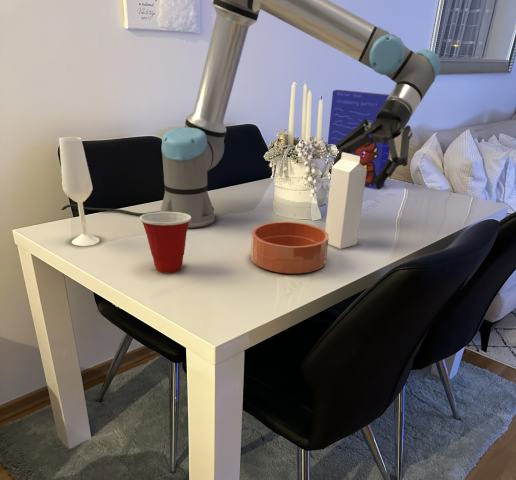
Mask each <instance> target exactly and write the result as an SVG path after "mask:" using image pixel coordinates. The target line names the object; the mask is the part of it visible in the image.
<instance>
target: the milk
mask: <svg viewBox="0 0 516 480" xmlns="http://www.w3.org/2000/svg"><path fill="white" fill-rule="evenodd" d="M366 172H367V169H366V168H365V167H364V166H362V165H361V164H360V156H356V155H352V154H348V153H344V152H342V156H341V159H340V160H339V161H338V162H337V163H336V164H335V165H334V166H333V167H332V171H331V180H329V181H330V182H329V190H328V200H327V211H326V220H325V229H324V231H326V232H327V234H328V237H329V239H328V245H330V246H332V247H334V248H337V249H339V250H341V249H346V248H349V247H352V246H356V245H357V243H358V235H359V229H360V221H361V213H362V207H363V200H364V192H365V179H366Z"/></svg>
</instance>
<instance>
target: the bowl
mask: <svg viewBox="0 0 516 480" xmlns="http://www.w3.org/2000/svg"><path fill="white" fill-rule="evenodd" d="M328 239H329V237H328V234H327V232H326V231H325V229H323V228H321V227H319V226H316V225H312V224H309V223H304V222H298V221H274V222H273V221H272V222H266V223H263V224H260V225H258V226H255V228H253V229H252V230H251V246H250V247H251V248H250V259H251V261H252V263H253V264H255V265H256V267H257V266H258V267H259V268H261V269H264V270H267V271H270V272H273V273H274V272H275V273H278V274H287V275H288V274H289V275H290V274H291V275H292V274H293V275H294V274H295V275H297V274H307V273H312V272H315V271H318V270H320V269H322V268H323V267H324V266H325V265H326V263H327V256H328V248H329V244H328Z"/></svg>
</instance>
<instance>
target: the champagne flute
mask: <svg viewBox="0 0 516 480" xmlns="http://www.w3.org/2000/svg"><path fill="white" fill-rule="evenodd" d="M58 141H59V155H60V156H59V157H60V168H61V169H60V170H61V183H62V185H61V186H62V191H63V193H64V194H66V196H67V197H68V198H69V199H71V200H72V201H73V202H76V203H77V205H78V208H77V209H78V215H79V221H80V228H81V234H80V235H79V236H77V237H76V238H74V239H73V240H72V241H71V244H72V245H74V246H80V247H85V246H93V245H97V244H98V243H100V238H99V237H96V236H94V235H92V234H90V233H88V229H87V222H86V216H85V215H86V214H85V209H83V207H84V202H86V200H87V199H88V198H89V197H90V196H91V194H92V191H93V189H94V187H93V183H92V179H91V173H90V170H89V166H88V161H87V157H86V153H85V149H84V145H83V140H82V138H81V137H78V136H63V137H59V138H58Z"/></svg>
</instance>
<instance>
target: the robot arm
mask: <svg viewBox="0 0 516 480" xmlns="http://www.w3.org/2000/svg"><path fill="white" fill-rule="evenodd" d="M212 7H213V9H214V12H215V20H214V24H213V28H212V32H211V36H210V41H209V44H208V49H207V53H206V57H205V62H204V66H203V70H202V74H201V78H200V82H199V86H198V90H197V95H196V99H195V103H194V107H193V112H192V113H190V114H188V115H186V117H185V118H186V119H185V122H184V125H183V126H184V127H177V128H172V129H169V130H167V131H166V132H164V134H163V135H162V136H161V137H162V138H161V146H160V147H161V148H160V149H161V154H162V168H163V183H164V195H163V199H162V203H161V207H160V210H156V211H148V212H134V211H129V210H126V209H118V208H105V207H104V208H102V207H101V208H99V207H86V206H83V209H84V211H90V212H91V211H95V212H116V213H117V212H118V213H123V214H129V215H132V216H139V217H140V216H142V215H143V214H148V213H153V212H179V213H185V214H188V215H190V216H191V220H190V221H189V224H188V229H197V228H203V227H207V226H210V225H211V224H213V223H214V222H215V208H214V207H213V204H212V201H211V199H210V196H209V192H208V172H209V171H210V170H212V169H213V168H215V167H216V166H217V165H219V163H220V161H222V158H223V155H224V152H225V139H226V134H227V128H226V126H225V123H224V120H225V117H226V113H227V109H228V105H229V102H230V98H231V95H232V90H233V88H234V83H235V80H236V76H237V73H238V69H239V65H240V62H241V57H242V54H243V50H244V47H245V44H246V40H247V35H248V31H249V29H250V27H251V26H252V25H254V24H256V23H257V22H258V18H259V14H260V11H263V12H265V13H267V14H268V15H270V16H273V17H275V18H276V19H278V20H280V21H282V22H284V23H286V24H288V25H290V26H291V27H293V28H295V29H297V30H299V31H301V32H303V33H305V34H306V35H309V36H310V37H312V38H314V39H315V40H318V41H319V42H321V43H323V44H325V45H327V46H329V47H331V48H333V49H334V50H337V51H338V52H340V53H342V54H344V55H346V56H348V57H350V58H352V59H354V60H356V61H357V62H359V63H360V64H362V65H365V66H366V67H368V68H370V69H371V70H373V71H374V72H375V73H377V74H379V75H381V76H385V77H387V78H389V79H390V80H391V81H393V82H394V83H395V86H394V87H393V89H392V90H391V92H390V93H389V94H388V95H389V96H388V98H387V99H386V102H385V103H384V104H383V106H382V108H381V109H380V111H379V112H378V115H377V118H376V120H375V121H374V122H373V123H370V122H368V121H367V119H364V120H363V121H362V122H361V123H360V125H359V126H358V127H356V128H355V129H354V130H353V131H351V132H350V133H349V134H348V135H347V136H345V137H344V138H343V139H342V140H340V141H339V142H338V143H337V144H336V147H337V149H338V151H339V153H338V154H337V156H336V158H335V159H334V164H333V166H334V165H335V164H336V163H337V162H338V161H339V160H340V159H341V156H342V152H344V153H348V154H350V153H352V152H353V151H355V150H357V149H359V148H360V147H362V146H364V145H366V144H367V143H369V144H370V143H372V142H374V141H375V142H377V143H378V142H381V143H383V144H386V143H388V144H389V148H390V150H389V154H390V158H391V159H389V158H388V160H387V162H386V163H385V165H384V167H383V168H382V170H381V171H380V173H379V175H378V176H377V178H376V179H375V181H374V183H375V185H376V187H377V189H376V190H381V188H383V186H382V185H383V184H384V185H385V182H386V181H387V179H388V178H390V177H392V176H393V174H394V172H395V171H396V169H397V168H398V167H400V166H402V167H406V166H407V165H408V164H409V163H408V161H409V149H410V140H411V138H412V136H413V131H412V128H411V126H410V125H408V123H409V121H410V120H411V118H412V116H413V115H414V113H415V112H416V110H417V109H418V107H419V105H420V104H421V102H422V100H423V99H424V97H425V96H426V94H427V93H428V91H429V90H430V88H431V87H432V85H433V83H434V82H435V80H436V78H437V76H438V74H439V72H440V70H441V68H442V67H441V66H442V63H441V62H442V61H441V58H440V57H439V55H437V53H436V52H435V51H433V50H429V49H428V48H422V49H419V50H418V51H417V52H415V51H413V50H411V49H410V48H408V47H407V46H406V45H405V44H404V42H403V40H402V39H401V37H398V36H397V35H395V34H391V33H390V32H389V31H388V30H385V29H384V28H382V27H381V26H376V25H375V24H373V23H371V22H369V21H368V20H366V19H364V18H362V17H360V16H358V15H356V14H354V13H353V12H351V11H349V10H347V9H346V8H343V7H341V6H340V5H338V4H337V3H334V2H333V1H330V0H213V1H212ZM369 134H371V136H372V137H371V138H370V137H369ZM400 136H401V139H400V151H399V156H398V151H397V146H396V141H395V139H397V138H398V137H400ZM346 149H347V150H346ZM333 166H332V167H333ZM332 167H331V169H330V170H329V172H330V174H331V171H332ZM68 208H77V209H78V204H66V205H64V206H62V208H61V209H60V210H61V211H64V210H66V209H68Z"/></svg>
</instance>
